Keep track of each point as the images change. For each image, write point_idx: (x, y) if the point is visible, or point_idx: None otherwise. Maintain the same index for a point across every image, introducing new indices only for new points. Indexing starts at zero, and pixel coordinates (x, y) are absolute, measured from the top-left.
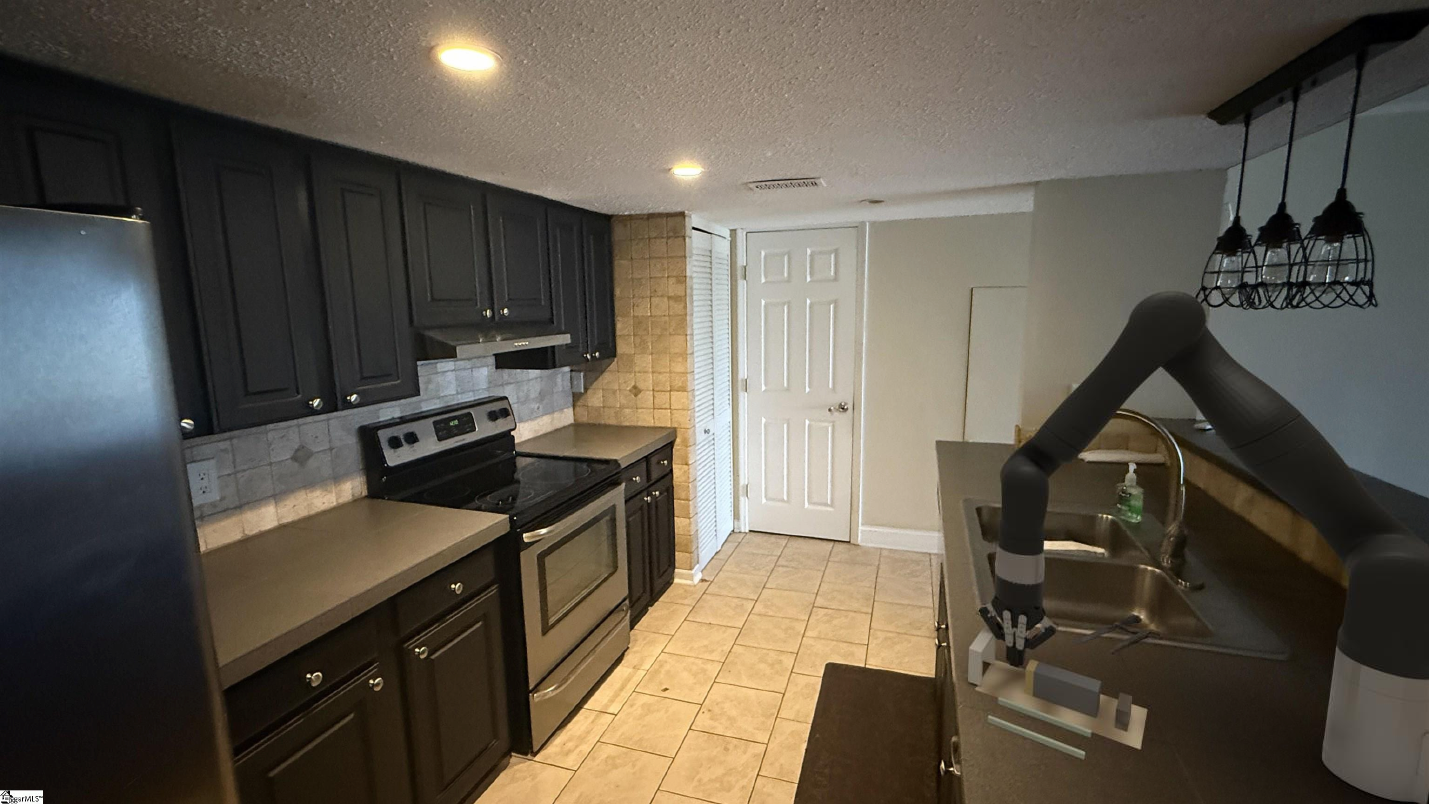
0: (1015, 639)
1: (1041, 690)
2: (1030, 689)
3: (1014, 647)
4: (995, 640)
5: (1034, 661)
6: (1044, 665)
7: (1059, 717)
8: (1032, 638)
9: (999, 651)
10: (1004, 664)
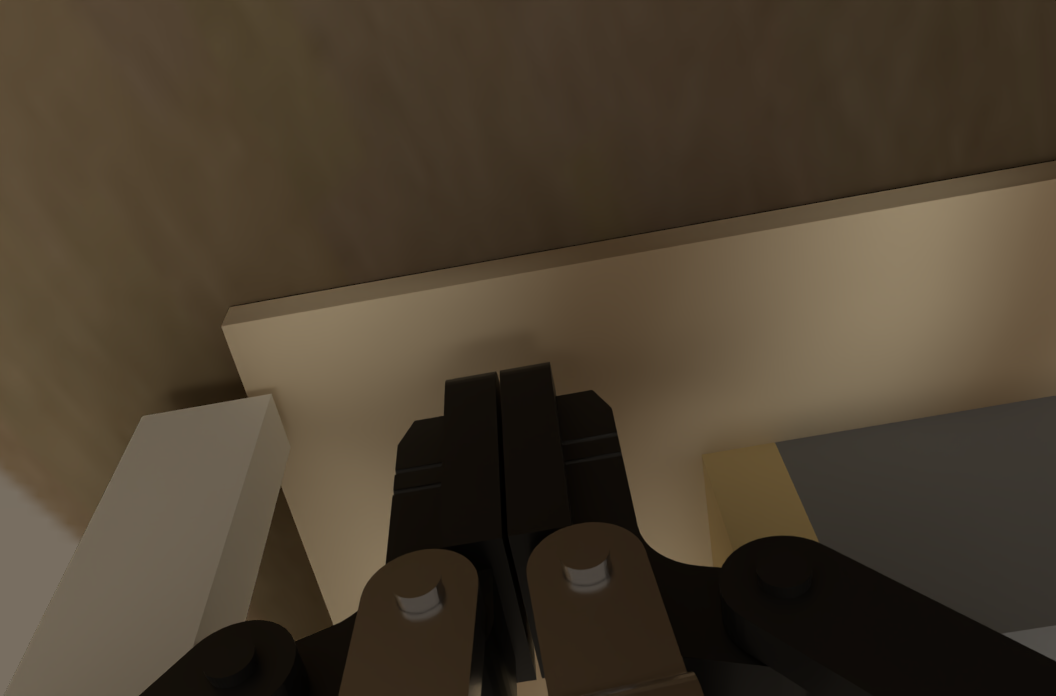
0: (496, 648)
1: None
2: None
3: (528, 662)
4: (212, 603)
5: None
6: None
7: None
8: (784, 686)
9: (112, 16)
10: (360, 331)
